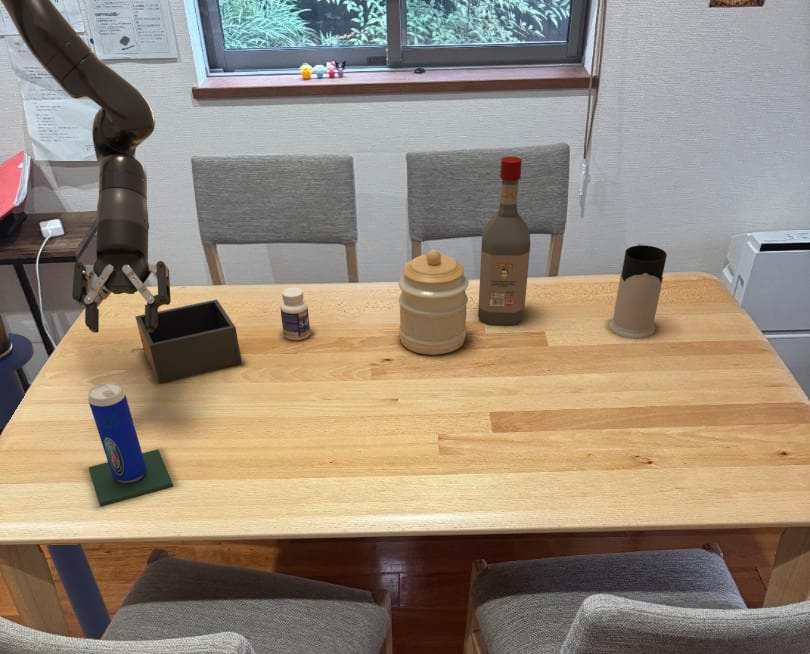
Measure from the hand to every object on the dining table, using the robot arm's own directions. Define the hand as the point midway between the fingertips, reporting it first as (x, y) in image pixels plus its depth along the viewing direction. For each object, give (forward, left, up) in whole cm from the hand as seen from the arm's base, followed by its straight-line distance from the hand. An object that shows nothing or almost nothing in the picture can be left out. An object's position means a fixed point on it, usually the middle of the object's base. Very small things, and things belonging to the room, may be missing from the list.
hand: (121, 331), depth 124 cm
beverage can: (-5, -12, -18) cm, 22 cm away
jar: (+57, +6, -18) cm, 60 cm away
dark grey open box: (+13, +20, -18) cm, 30 cm away
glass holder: (+96, -5, -18) cm, 98 cm away
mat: (-5, -12, -18) cm, 22 cm away
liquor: (+74, +9, -18) cm, 76 cm away
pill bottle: (+34, +20, -18) cm, 44 cm away
